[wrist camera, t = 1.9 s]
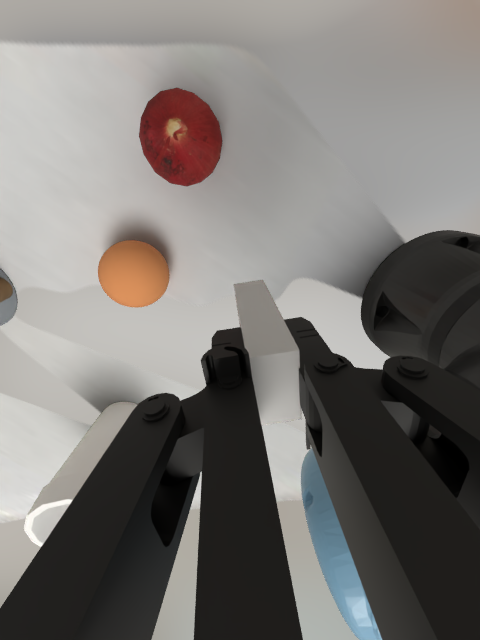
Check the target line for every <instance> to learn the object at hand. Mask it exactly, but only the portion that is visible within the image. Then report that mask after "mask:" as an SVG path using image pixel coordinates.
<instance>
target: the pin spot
mask: <svg viewBox="0 0 480 640" xmlns="http://www.w3.org/2000/svg"><path fill="white" fill-rule="evenodd" d="M0 277H1V278H3V279H5V280H7V281H8V282H9V283H10V285H11V286H12V289H13V294H12V296H11V297H10V298H8V299H6V300H4V301H2V302H0V326H1V325H3V324H5V323H6V322H8V321H9V320H10V319H11V318H12V317H13V316H14V314H15V312H16V309H17V295H16V291H15V288H14V286H13V284H12V282H11V281H10V279H9V278H8V277H7V275H6V274H5V273H4V272H3V271H2V270H1V269H0Z"/></svg>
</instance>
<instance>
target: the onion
mask: <svg viewBox="0 0 480 640" xmlns="http://www.w3.org/2000/svg"><path fill="white" fill-rule="evenodd" d="M139 137H140V141H141V145H142V149H143V153H144V155H145V157H146V159H147V160H148V162H149V163H150V165H151V166H152V168H153V169H154V171H155V172H156V173H157V174H158V175H160V176H161V177H163V178H164V179H165V180H167V181H168V182H170V183H172V184H177V185H182V186H190V185H193V184H196V183H199V182H202V181H203V180H204V179H205V178H206V177H208V176H209V175H210V174H211V173H212V172H213V170H214V168H215V166H216V164H217V163H218V161H219V159H220V153H221V147H222V136H221V131H220V126H219V122H218V120H217V118H216V117H215V115H214V113H213V112H212V110H211V108H210V107H209V105H208V104H206V103H205V102H204V101H203V100H202V99H200V98H199V97H198V96H197V95H195V94H194V93H192V92H189V91H186V90H182V89H179V88H174V89H169V90H165V91H160V92H159V93H158V94H157V95H156V96H155V97H153V98H152V99H151V100H150V101H149V102H148V103H147V106H146V108H145V110H144V112H143V115H142V117H141V122H140V132H139Z"/></svg>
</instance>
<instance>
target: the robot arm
mask: <svg viewBox="0 0 480 640" xmlns="http://www.w3.org/2000/svg"><path fill="white" fill-rule="evenodd" d="M234 289H235V296H236V302H237V310H238V316H239V323H240V327H239V328H233V329H226V330H219V331H217V332H216V333H215V334H214V336H213V337H212V349H210V350H208V351H207V353H205V354H204V355H203V357H202V359H201V364H202V368H203V372H204V377H205V380H206V387H205V388H204V389H203V390H202V391H200V392H199V393H197V394H195V395H193V396H191V397H189V398H186V399H184V400H181V401H180V400H179V398H178V397H176V396H175V395H174V394H168V393H162V394H156V395H154V396H151V397H148V398H147V399H145V400H143V401H142V402H140V403H139V404H138V405H137V406H136V407H135V409H134V410H133V411H132V412H131V414H130V415H129V417H128V418H127V420H126V421H125V423H124V424H123V426H122V427H121V429H120V430H119V432H118V433H117V435H116V436H115V438H114V439H113V441H112V442H111V444H110V445H109V447H108V448H107V450H106V451H105V453H104V454H103V456H102V457H101V459H100V460H99V462H98V463H97V465H96V466H95V468H94V469H93V471H92V472H91V474H90V475H89V477H88V478H87V480H86V481H85V483H84V484H83V486H82V487H81V489H80V490H79V492H78V493H77V495H76V496H75V497H74V499H73V500H72V502H71V503H70V505H69V506H68V508H67V509H66V511H65V512H64V514H63V515H62V517H61V518H60V520H59V521H58V523H57V524H56V526H55V527H54V529H53V530H52V532H51V533H50V535H49V536H48V538H47V539H46V541H45V542H44V544H43V545H42V547H41V548H40V550H39V551H38V553H37V554H36V556H35V557H34V559H33V560H32V562H31V563H30V565H29V566H28V568H27V569H26V571H25V572H24V574H23V575H22V577H21V578H20V580H19V581H18V583H17V584H16V586H15V587H14V589H13V590H12V592H11V593H10V595H9V596H8V598H7V599H6V601H5V602H4V604H3V605H2V606H1V608H0V640H151V639H152V635H153V632H154V629H155V625H156V622H157V619H158V615H159V612H160V608H161V605H162V602H163V598H164V595H165V591H166V588H167V585H168V581H169V578H170V574H171V571H172V568H173V564H174V561H175V558H176V554H177V551H178V548H179V544H180V541H181V537H182V534H183V531H184V527H185V524H186V520H187V517H188V514H189V510H190V507H191V504H192V500H193V497H194V493H195V490H196V487H197V483H198V480H199V477H200V472H201V471H202V484H201V505H200V526H199V545H198V566H197V587H196V588H197V589H196V606H195V628H194V640H303V638H302V633H301V627H300V623H299V617H298V612H297V607H296V601H295V596H294V592H293V586H292V581H291V576H290V570H289V565H288V561H287V555H286V550H285V545H284V540H283V534H282V529H281V524H280V519H279V514H278V509H277V503H276V498H275V493H274V488H273V483H272V477H271V472H270V467H269V462H268V457H267V452H266V446H265V441H264V436H263V431H262V426H261V425H268V424H274V423H281V422H287V421H293V420H300V419H301V418H302V416H301V409H302V411H303V413H304V416H305V419H306V446H307V450H308V449H310V444H311V447H312V449H311V450H309V452H308V453H307V454H306V456H305V458H304V461H303V464H302V469H301V490H302V498H303V504H304V509H305V515H306V520H307V524H308V528H309V532H310V535H311V539H312V542H313V546H314V549H315V552H316V555H317V558H318V561H319V564H320V567H321V569H322V572H323V575H324V577H325V580H326V582H327V585H328V587H329V589H330V592H331V594H332V596H333V598H334V600H335V602H336V604H337V606H338V609H339V611H340V612H341V614H342V616H343V618H344V619H345V621H346V622H347V624H348V626H349V627H350V629H351V630H352V632H353V633H354V634H355V636H356V637H357V638H358V639H359V640H480V235H476V234H471V233H466V232H459V231H450V230H447V231H436V232H432V233H428V234H425V235H422V236H419V237H417V238H415V239H413V240H411V241H409V242H407V243H406V244H404V245H402V246H401V247H400V248H398V249H397V250H396V251H394V252H393V253H392V254H391V255H390V256H389V257H388V258H387V259H386V260H385V261H384V262H383V263H382V264H381V265H380V266H379V268H378V269H377V270H376V272H375V273H374V275H373V276H372V278H371V279H370V281H369V283H368V285H367V287H366V290H365V293H364V296H363V300H362V306H361V320H362V325H363V328H364V330H365V332H366V334H367V336H368V337H369V339H370V340H371V341H372V342H373V343H374V344H375V345H376V346H377V347H378V348H379V349H380V350H381V351H383V352H384V353H385V354H387V355H388V356H390V357H391V358H389V359H388V360H386V361H385V363H384V365H383V370H378V369H363V368H356V367H354V366H353V365H352V363H351V362H350V361H349V360H347V359H346V358H345V357H343V356H340V355H338V354H334V353H332V352H331V350H330V349H329V347H328V346H327V345H326V343H325V342H324V340H323V339H322V338H321V336H320V335H319V333H318V332H317V331H316V330H315V328H314V326H313V325H312V323H311V322H310V321H308V320H306V319H304V318H302V317H299V318H293V319H286V320H284V319H283V317H282V316H281V314H280V312H279V310H278V308H277V306H276V304H275V302H274V300H273V298H272V296H271V294H270V292H269V290H268V288H267V286H266V285H265V283H264V281H263V280H258V281H252V282H245V283H238V284H234Z"/></svg>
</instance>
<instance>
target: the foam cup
mask: <svg viewBox="0 0 480 640" xmlns="http://www.w3.org/2000/svg"><path fill="white" fill-rule="evenodd" d="M136 406H137V404H135V403H131V402H122V401H121V402H117V403H113V404H111V405H109V406H108V407H107V408H105V409H104V411H103V412H102V413H101V414H100V415H99V417H98V418H97V420H96V421H95V422H94V424H93V425H92V426H91V428H90V429H89V430H88V432H87V433H86V434H85V436H84V437H83V438H82V440H81V441H80V442H79V444H78V445H77V447H76V448H75V449H74V451H73V452H72V453H71V455H70V456H69V457H68V459H67V460H66V461H65V463H64V464H63V465H62V467H61V468H60V470H59V471H58V472H57V474H56V475H55V476H54V478H53V479H52V480H51V482H50V483H49V484H48V485H46V486H45V487H44V488H43V489H42V491H41V492H40V494H39V496H38V498H37V499H36V501H35V503H34V504H33V506H32V508H31V509H30V511H29V513H28V515H27V517H26V522H25V526H24V530H25V532H26V533H27V535H28V536H29V538H30V539H31V541H32V542H33V543H35V544H37V545H39V546H40V547H42V545H43V544H44V542H45V541H46V539H47V538H48V536H49V535H50V533H51V532H52V530H53V529H54V527H55V526H56V524H57V523H58V521H59V520H60V518H61V517H62V515H63V514H64V512H65V511H66V509H67V508H68V506H69V505H70V503H71V502H72V500H73V499H74V497H75V496H76V495H77V493H78V492H79V490H80V489H81V487H82V486H83V484H84V483H85V481H86V480H87V478H88V477H89V475H90V474H91V472H92V471H93V469H94V468H95V466H96V465H97V463H98V462H99V460H100V459H101V457H102V456H103V454H104V453H105V451H106V450H107V448H108V447H109V445H110V444H111V442H112V441H113V439H114V438H115V436H116V435H117V433H118V432H119V430H120V429H121V427H122V426H123V424H124V423H125V421H126V420H127V418H128V417H129V415H130V414H131V412H132V411H133V410H134V409H135V407H136Z"/></svg>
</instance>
